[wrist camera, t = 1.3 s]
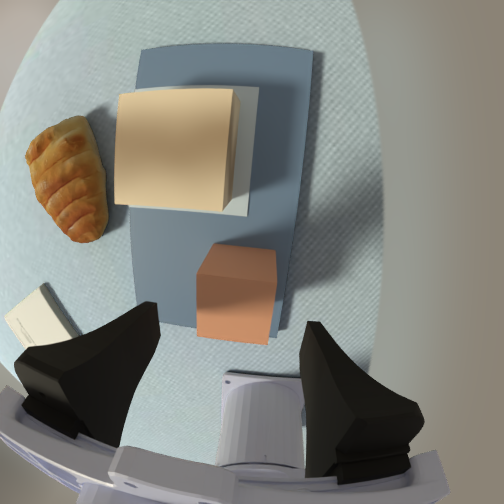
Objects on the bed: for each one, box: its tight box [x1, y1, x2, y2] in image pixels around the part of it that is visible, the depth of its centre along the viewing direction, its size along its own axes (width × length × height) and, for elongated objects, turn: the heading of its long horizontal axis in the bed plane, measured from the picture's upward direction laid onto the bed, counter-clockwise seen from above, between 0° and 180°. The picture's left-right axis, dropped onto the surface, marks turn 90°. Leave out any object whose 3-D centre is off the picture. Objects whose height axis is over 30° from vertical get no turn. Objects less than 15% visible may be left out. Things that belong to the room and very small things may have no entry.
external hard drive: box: [4, 283, 79, 349], centre depth 23 cm, size 2×8×12 cm
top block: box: [196, 243, 277, 345], centre depth 16 cm, size 4×4×4 cm
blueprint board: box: [129, 44, 313, 338], centre depth 17 cm, size 20×11×1 cm, turn 175°
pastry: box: [25, 116, 109, 243], centre depth 16 cm, size 9×7×4 cm
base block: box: [114, 88, 241, 212], centre depth 14 cm, size 6×6×4 cm
